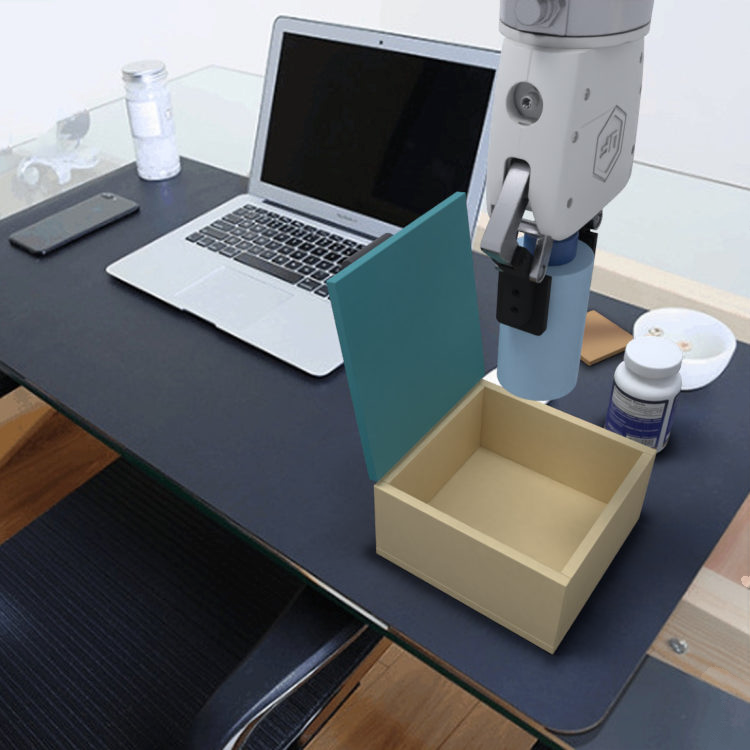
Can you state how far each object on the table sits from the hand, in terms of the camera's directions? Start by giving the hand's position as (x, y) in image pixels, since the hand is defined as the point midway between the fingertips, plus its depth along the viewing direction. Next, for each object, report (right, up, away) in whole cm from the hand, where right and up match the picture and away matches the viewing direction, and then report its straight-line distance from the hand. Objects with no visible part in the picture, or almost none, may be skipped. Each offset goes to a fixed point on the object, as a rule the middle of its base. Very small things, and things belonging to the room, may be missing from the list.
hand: (544, 301), depth 51 cm
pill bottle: (+13, -11, +23) cm, 29 cm away
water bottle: (0, -5, +4) cm, 6 cm away
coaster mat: (+13, -1, +35) cm, 37 cm away
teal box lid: (-7, -2, +8) cm, 11 cm away
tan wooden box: (0, -18, +14) cm, 23 cm away
